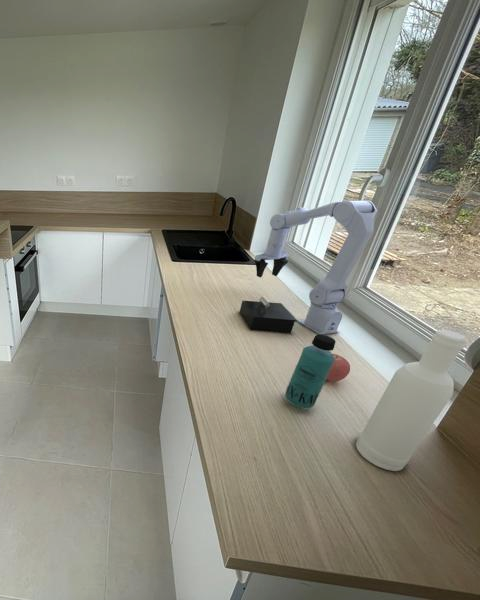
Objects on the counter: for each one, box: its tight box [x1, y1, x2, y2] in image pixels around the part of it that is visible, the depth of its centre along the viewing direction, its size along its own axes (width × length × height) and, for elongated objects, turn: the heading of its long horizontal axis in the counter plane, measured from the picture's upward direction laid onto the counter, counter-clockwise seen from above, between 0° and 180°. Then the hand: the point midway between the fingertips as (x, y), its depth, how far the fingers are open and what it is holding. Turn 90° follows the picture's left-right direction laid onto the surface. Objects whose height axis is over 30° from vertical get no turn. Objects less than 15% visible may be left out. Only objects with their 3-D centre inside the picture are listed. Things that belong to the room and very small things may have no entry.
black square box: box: [238, 302, 296, 334], centre depth 118 cm, size 13×13×5 cm
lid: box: [241, 296, 298, 323], centre depth 116 cm, size 14×13×4 cm
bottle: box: [355, 329, 468, 472], centre depth 61 cm, size 8×8×30 cm
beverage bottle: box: [284, 333, 336, 410], centre depth 77 cm, size 6×7×20 cm
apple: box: [325, 353, 351, 382], centre depth 89 cm, size 7×7×8 cm
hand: (266, 275), depth 135 cm, fingers open, 7 cm apart
